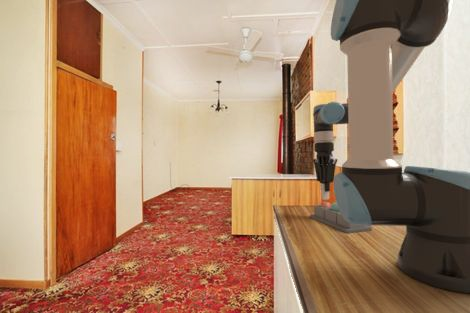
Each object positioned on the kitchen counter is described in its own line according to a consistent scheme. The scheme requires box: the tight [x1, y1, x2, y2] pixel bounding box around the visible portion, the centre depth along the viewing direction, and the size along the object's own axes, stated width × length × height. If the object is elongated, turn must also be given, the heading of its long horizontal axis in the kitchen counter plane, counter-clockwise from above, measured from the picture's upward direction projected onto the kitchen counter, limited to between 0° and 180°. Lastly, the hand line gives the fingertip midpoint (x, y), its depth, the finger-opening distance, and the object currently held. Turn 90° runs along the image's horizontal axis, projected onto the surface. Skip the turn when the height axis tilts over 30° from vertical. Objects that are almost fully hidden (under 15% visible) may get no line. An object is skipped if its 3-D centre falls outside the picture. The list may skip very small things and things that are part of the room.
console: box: [309, 204, 373, 234], centre depth 88 cm, size 22×10×5 cm, turn 15°
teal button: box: [331, 202, 340, 212], centre depth 88 cm, size 4×4×4 cm
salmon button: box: [320, 201, 331, 208], centre depth 95 cm, size 4×4×4 cm
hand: (325, 199), depth 95 cm, fingers closed
